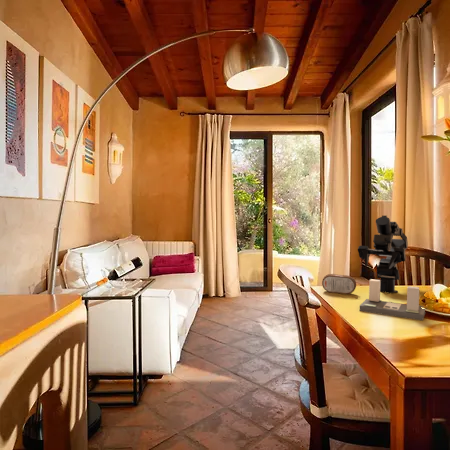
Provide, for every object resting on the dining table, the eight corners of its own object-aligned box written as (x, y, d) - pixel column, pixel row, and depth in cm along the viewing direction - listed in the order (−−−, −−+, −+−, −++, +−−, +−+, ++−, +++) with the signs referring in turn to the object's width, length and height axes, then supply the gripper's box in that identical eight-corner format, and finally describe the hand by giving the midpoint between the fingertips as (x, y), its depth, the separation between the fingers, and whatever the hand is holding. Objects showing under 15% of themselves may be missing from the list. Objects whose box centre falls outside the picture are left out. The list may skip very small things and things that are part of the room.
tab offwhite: (370, 298, 140) (370, 279, 140) (379, 300, 138) (380, 280, 138) (369, 300, 138) (369, 280, 137) (378, 301, 136) (378, 281, 135)
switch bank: (366, 303, 142) (366, 298, 142) (425, 312, 130) (425, 306, 130) (359, 310, 132) (359, 304, 132) (422, 320, 120) (423, 313, 120)
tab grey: (407, 307, 127) (408, 286, 127) (418, 309, 125) (419, 287, 125) (406, 309, 125) (407, 287, 125) (417, 311, 123) (418, 288, 123)
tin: (356, 293, 159) (356, 275, 159) (355, 295, 156) (355, 276, 156) (322, 290, 166) (322, 273, 165) (321, 292, 163) (321, 274, 162)
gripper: (359, 227, 157) (351, 252, 148) (405, 229, 146) (399, 255, 137) (363, 245, 163) (355, 269, 154) (408, 248, 152) (402, 274, 143)
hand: (377, 267), depth 147 cm, fingers open, 9 cm apart
